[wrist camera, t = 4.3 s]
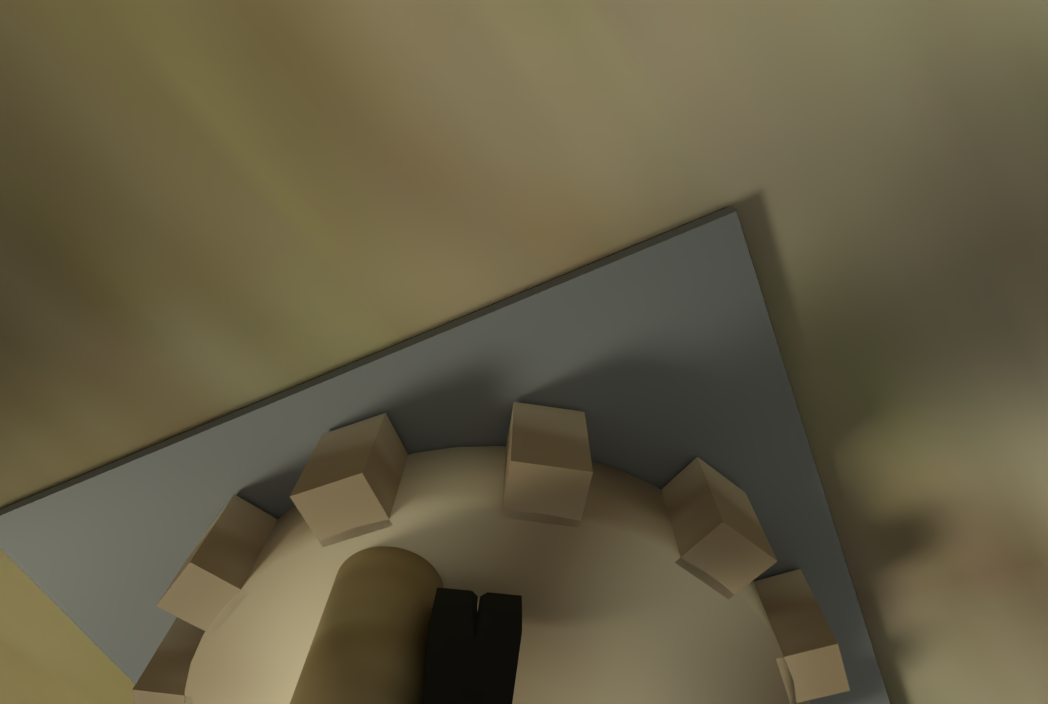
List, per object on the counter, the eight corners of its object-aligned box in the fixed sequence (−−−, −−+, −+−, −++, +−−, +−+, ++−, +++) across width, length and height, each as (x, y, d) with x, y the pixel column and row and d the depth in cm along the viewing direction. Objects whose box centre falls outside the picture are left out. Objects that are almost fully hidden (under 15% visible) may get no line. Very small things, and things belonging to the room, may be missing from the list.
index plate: (908, 770, 18) (916, 788, 18) (368, 902, 21) (365, 919, 21) (730, 205, 12) (736, 211, 11) (-10, 513, 15) (-25, 526, 15)
